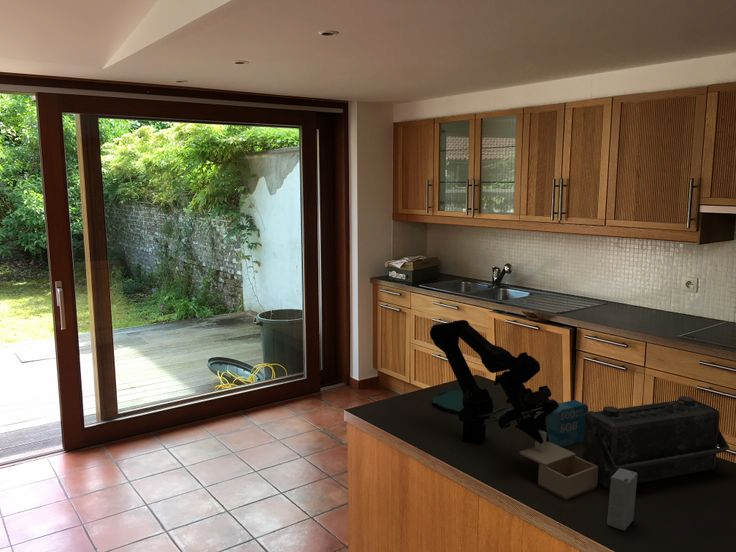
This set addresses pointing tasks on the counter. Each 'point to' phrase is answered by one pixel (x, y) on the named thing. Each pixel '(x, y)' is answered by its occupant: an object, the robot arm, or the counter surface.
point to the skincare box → (622, 499)
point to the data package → (567, 423)
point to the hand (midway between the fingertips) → (544, 442)
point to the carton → (568, 477)
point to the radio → (653, 439)
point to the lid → (547, 452)
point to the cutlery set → (456, 402)
